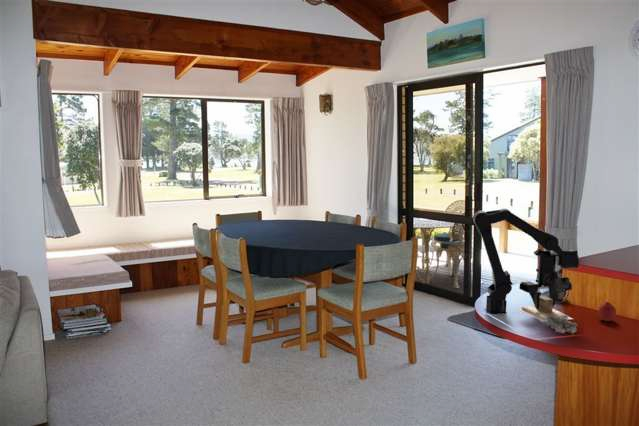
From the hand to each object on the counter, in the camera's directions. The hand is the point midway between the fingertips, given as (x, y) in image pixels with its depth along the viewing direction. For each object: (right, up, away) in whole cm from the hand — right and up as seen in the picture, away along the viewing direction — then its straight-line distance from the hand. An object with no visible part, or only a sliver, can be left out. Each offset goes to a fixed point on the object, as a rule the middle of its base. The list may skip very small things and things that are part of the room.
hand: (544, 308), depth 206 cm
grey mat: (0, -3, 0) cm, 3 cm away
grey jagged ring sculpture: (-1, -5, -15) cm, 16 cm away
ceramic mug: (+13, 0, +21) cm, 25 cm away
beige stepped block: (0, -2, 0) cm, 2 cm away
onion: (+19, -4, -7) cm, 21 cm away
